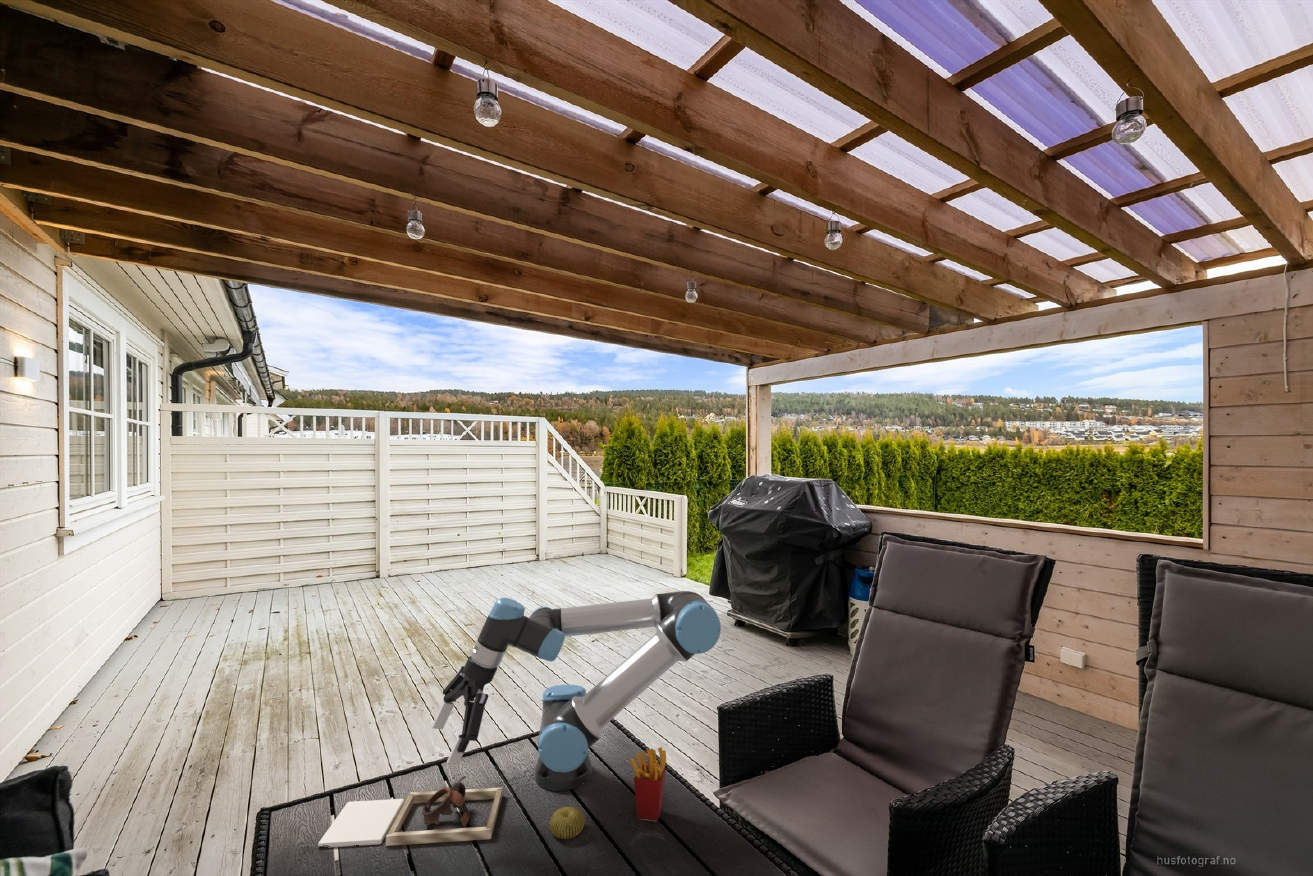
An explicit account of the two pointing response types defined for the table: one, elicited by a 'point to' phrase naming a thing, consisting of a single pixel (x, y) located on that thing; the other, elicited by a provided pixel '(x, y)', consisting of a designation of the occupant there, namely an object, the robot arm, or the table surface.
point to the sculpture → (567, 822)
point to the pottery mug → (446, 804)
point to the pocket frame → (445, 834)
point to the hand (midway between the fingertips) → (444, 745)
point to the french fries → (649, 784)
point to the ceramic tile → (362, 823)
